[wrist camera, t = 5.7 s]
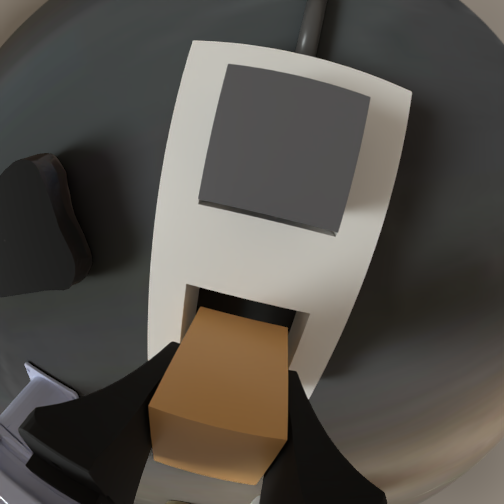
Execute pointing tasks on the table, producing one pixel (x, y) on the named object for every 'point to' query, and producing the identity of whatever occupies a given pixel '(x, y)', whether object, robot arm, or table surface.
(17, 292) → the black sponge
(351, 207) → the white slotted board
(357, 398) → the table surface
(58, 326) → the table surface
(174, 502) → the plant pot
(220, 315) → the orange plug
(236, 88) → the dark grey block
